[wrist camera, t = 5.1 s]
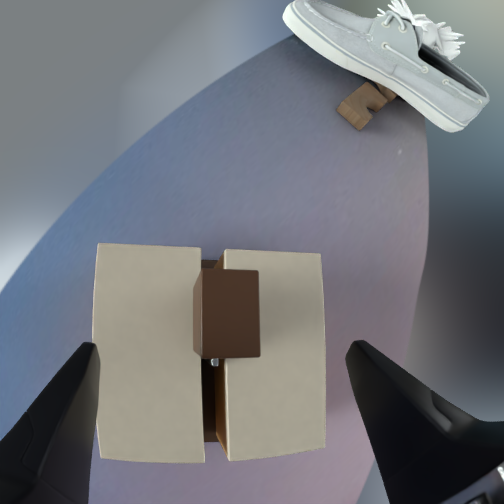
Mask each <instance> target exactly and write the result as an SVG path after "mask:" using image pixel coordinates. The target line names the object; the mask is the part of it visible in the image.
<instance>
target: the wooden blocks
mask: <svg viewBox="0 0 504 504" xmlns="http://www.w3.org/2000/svg"><path fill="white" fill-rule="evenodd" d="M374 82H375V81H374ZM375 83H376V84H377V86H378V87H379V89H380V92H379V91H378V90H377V89H375V88H374V87H373V86H372V85H371V84H370V83H369V82H366V83H364V84H363V85H362V86H361V87H359V88H358V89H357V90H356V91H354V92H353V93H352V94H351V95H350V96H348V97H347V98H346V99H345V100H343V101H342V103H341V104H340V105H339V107H338V108H337V109H336V111H337V112H339V113H340V114H341V115H342V116H343V117H344V118H345V119H346V120H348V121H349V122H350V123H351V124H352V125H353V126H354V127H355V128H356V129H358V130H359V131H360V130H361V129H362V128H363V127H364V126H365V125H366V124H367V123H368V122H369V121H370V119H371V118H372V117H373V116H372V115H371V114H370V113H369V112H368V110H367V108H370V109H372V110H374V111H375V112H376V113H377V112H378V111H379V110H380V109H381V108H382V107H383V106H384V105H385V104H386V103H387V102H388V103H390V102H391V101H392V100H393V99H394V98H395V97H396V96H397V95H398V94H397V93H395V92H394V91H392V90H390V89H389V88H387V87H385V86H383V85H381V84H379V83H377V82H375ZM366 107H367V108H366Z"/></svg>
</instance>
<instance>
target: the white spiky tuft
mask: <svg viewBox="0 0 504 504" xmlns="http://www.w3.org/2000/svg"><path fill="white" fill-rule="evenodd" d="M391 2H392V4H393V5H394V6H395V7H396V8H395V7H393V6H391V5H389V4H388V6H389V7H390V8H391V9H392V10H393V11H395V12H397V13H399V14H400V15H401V16H404V17H407V18H409V19H410V20H411V22H412V25H415V26H421V27H422V29H423V38H422V43H424V44H426V45H427V46H429V47H430V48H432V49H434V50H435V48H437V49H438V51H439V53H440V54H441V55H445V56H447V57H448V58H447V59H449V60H450V61H452V59H454V58H455V57H456V56H458V55H459V54H460V51H459V50H456V49H458V48H460V47H459V46H458V45H461V44H464V43H465V42H454V41H453V40H455V39H458V38H457V36H464V35H462V34H459V33H454V32H452V31H451V27H444V28H439V27H441V26H443V25H444V24H445V22H442V23H438V24H434V23H433V22H432V21H431V20H430V19H428V18H427V17H425V15H424V14H420V15H412V13H411V11H410V9H409V8H408V6H407V4H406V2H405V1H404V0H401V2H402V4H403V6H402V5H401V4H400V2H399V1H398V0H394V2H393V1H391ZM403 7H404V8H403ZM377 9H378V10H379V11H380V12H381V13H382V14H384V15H385V13H386V12H384V11H383V10H381V9H379V8H377ZM377 15H378V16H384V15H381V14H377ZM438 28H439V29H438ZM455 50H456V51H455Z"/></svg>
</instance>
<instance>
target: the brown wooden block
mask: <svg viewBox="0 0 504 504" xmlns="http://www.w3.org/2000/svg"><path fill="white" fill-rule="evenodd" d="M193 350H194V352H195V353H197V354H198V355H199V356H200V357H201V358H203V359H204V360H206V361H207V362H208V363H209V364H210V365H211V366H218V359H229V358H259V357H260V356H261V344H260V295H259V271H258V270H239V269H212V268H202V269H201V271H200V273H199V276H198V278H197V280H196V283H195V285H194V287H193Z"/></svg>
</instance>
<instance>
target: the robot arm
mask: <svg viewBox="0 0 504 504" xmlns="http://www.w3.org/2000/svg"><path fill="white" fill-rule="evenodd" d="M345 360H346V365H347V369H348V373H349V377H350V381H351V385H352V389H353V393H354V396H355V399H356V402H357V405H358V408H359V411H360V414H361V417H362V419H363V422H364V425H365V428H366V431H367V434H368V437H369V440H370V443H371V446H372V449H373V452H374V455H375V458H376V461H377V464H378V467H379V470H380V473H381V476H382V480H383V482H384V486H385V490H386V493H387V496H388V499H389V503H390V504H504V421H500V422H486V421H481V420H479V419H476V418H474V417H473V416H471V415H469V414H468V413H466V412H465V411H463V410H461V409H460V408H458V407H456V406H454V405H453V404H451V403H450V402H448V401H447V400H445V399H444V398H442V397H441V396H440V395H438V394H437V393H435V392H434V391H433V390H430V388H429V387H427V386H426V385H424V384H423V383H422V382H420V381H419V380H418V379H416V378H415V377H414V376H412V375H411V374H409V373H408V372H407V371H405V370H404V369H403V368H401V367H400V366H399V365H397V364H396V363H394V362H393V361H392V360H390V359H389V358H388V357H386V356H385V355H384V354H382V353H381V352H380V351H378V350H377V349H375V348H374V347H373V346H371V345H370V344H369V343H367V342H366V341H364V340H356V341H354V342H353V343H352V344H351V346H350V348H349V350H348V352H347V354H346V358H345ZM100 366H101V363H100V357H99V353H98V349H97V346H96V344H95V343H91V342H84V343H82V344H81V346H80V347H79V348H78V349H77V350H76V351H75V352H74V354H73V355H72V356H71V357H70V358H69V359H68V361H67V362H66V363H65V364H64V365H63V366H62V368H61V369H60V370H59V371H58V372H57V374H56V375H55V376H54V377H53V378H52V380H51V381H50V382H49V383H48V384H47V386H46V387H45V388H44V389H43V391H42V392H41V393H40V394H39V395H38V397H37V398H36V399H35V400H34V402H33V403H32V404H31V405H30V407H29V408H28V409H27V412H25V413H24V414H23V416H22V417H21V418H20V419H19V421H18V422H17V423H16V424H15V425H14V427H13V428H12V429H11V430H10V431H9V432H8V433H7V435H6V436H5V437H4V438H3V439H2V440H1V441H0V504H88V497H89V481H90V468H91V458H92V449H93V440H94V432H95V425H96V418H97V411H98V400H99V381H100Z"/></svg>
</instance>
